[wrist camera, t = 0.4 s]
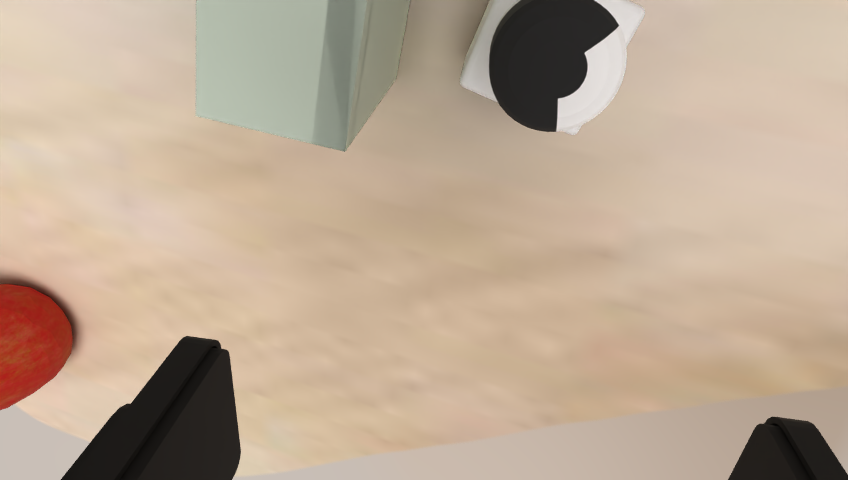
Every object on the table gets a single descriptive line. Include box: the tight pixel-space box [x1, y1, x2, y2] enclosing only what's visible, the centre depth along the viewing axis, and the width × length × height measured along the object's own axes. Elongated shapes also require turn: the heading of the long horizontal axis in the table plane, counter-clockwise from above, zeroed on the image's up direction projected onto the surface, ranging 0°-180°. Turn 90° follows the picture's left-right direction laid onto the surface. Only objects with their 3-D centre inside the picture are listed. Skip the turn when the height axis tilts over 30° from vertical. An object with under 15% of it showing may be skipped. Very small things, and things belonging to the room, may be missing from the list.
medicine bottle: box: [460, 0, 645, 135], centre depth 30 cm, size 7×7×12 cm
